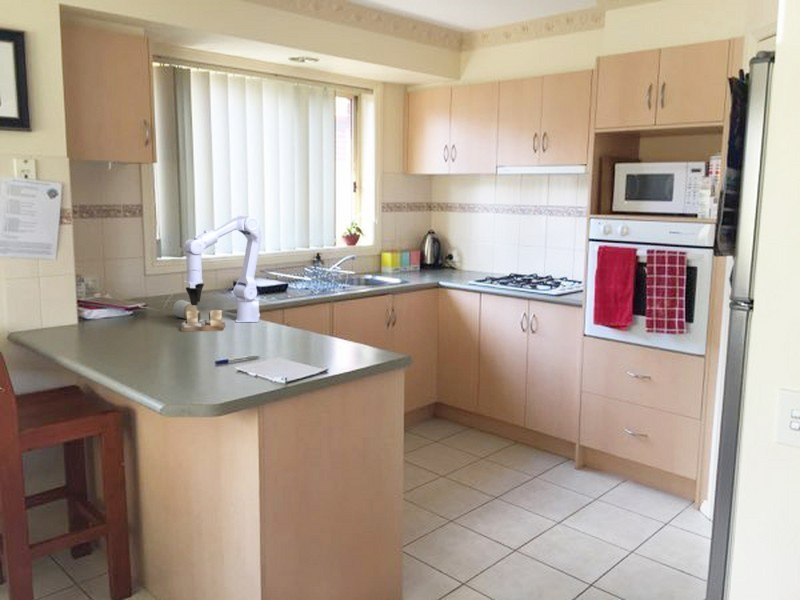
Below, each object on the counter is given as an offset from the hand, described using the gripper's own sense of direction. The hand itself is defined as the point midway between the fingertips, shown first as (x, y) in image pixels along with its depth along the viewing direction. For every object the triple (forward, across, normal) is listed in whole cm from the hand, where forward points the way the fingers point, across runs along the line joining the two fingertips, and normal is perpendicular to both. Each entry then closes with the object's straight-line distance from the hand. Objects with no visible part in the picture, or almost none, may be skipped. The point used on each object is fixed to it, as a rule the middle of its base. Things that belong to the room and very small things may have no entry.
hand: (195, 303), depth 272 cm
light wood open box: (+10, +2, +3) cm, 11 cm away
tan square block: (+8, +2, -1) cm, 9 cm away
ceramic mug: (+10, -21, -6) cm, 24 cm away
